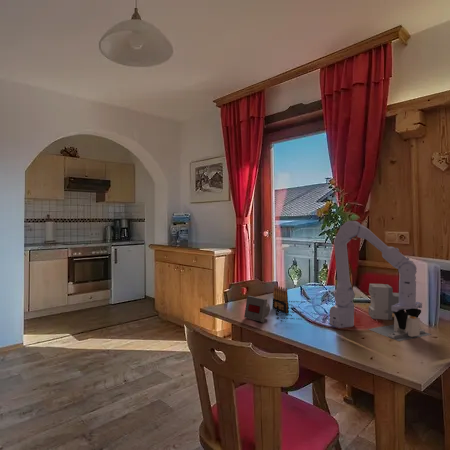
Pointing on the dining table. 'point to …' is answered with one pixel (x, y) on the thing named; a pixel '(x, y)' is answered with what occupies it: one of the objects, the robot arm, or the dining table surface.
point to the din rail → (401, 334)
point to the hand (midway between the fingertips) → (406, 328)
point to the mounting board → (390, 329)
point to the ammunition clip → (280, 299)
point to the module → (409, 325)
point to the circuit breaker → (382, 301)
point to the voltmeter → (261, 309)
